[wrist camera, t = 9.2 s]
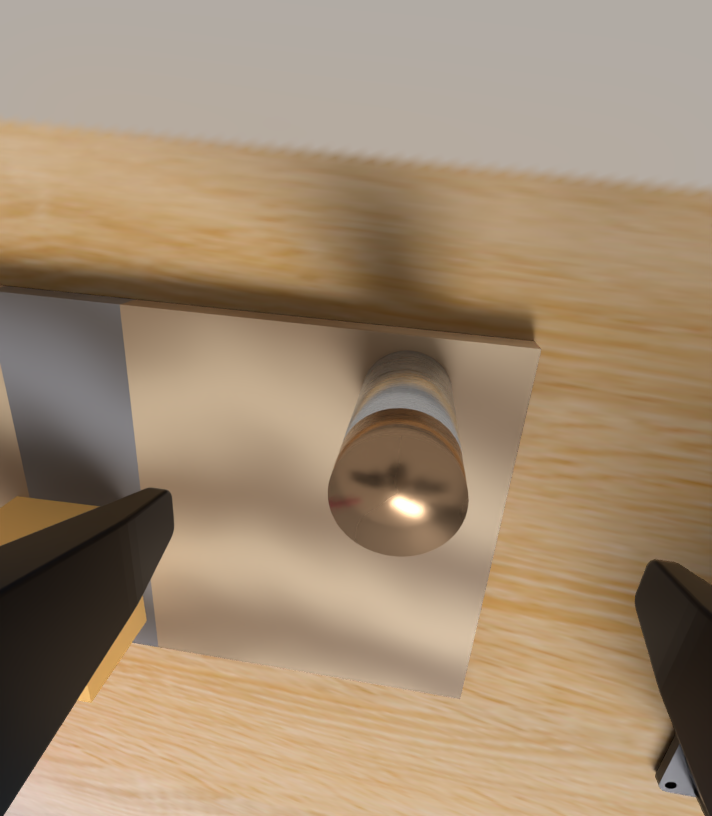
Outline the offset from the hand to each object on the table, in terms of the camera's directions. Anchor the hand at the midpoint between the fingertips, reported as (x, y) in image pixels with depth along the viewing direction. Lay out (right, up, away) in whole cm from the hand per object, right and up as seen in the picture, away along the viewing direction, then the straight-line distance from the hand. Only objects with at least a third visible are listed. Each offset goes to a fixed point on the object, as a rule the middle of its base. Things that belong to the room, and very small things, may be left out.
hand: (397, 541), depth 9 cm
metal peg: (+1, +3, +7) cm, 8 cm away
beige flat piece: (-6, -1, +11) cm, 13 cm away
